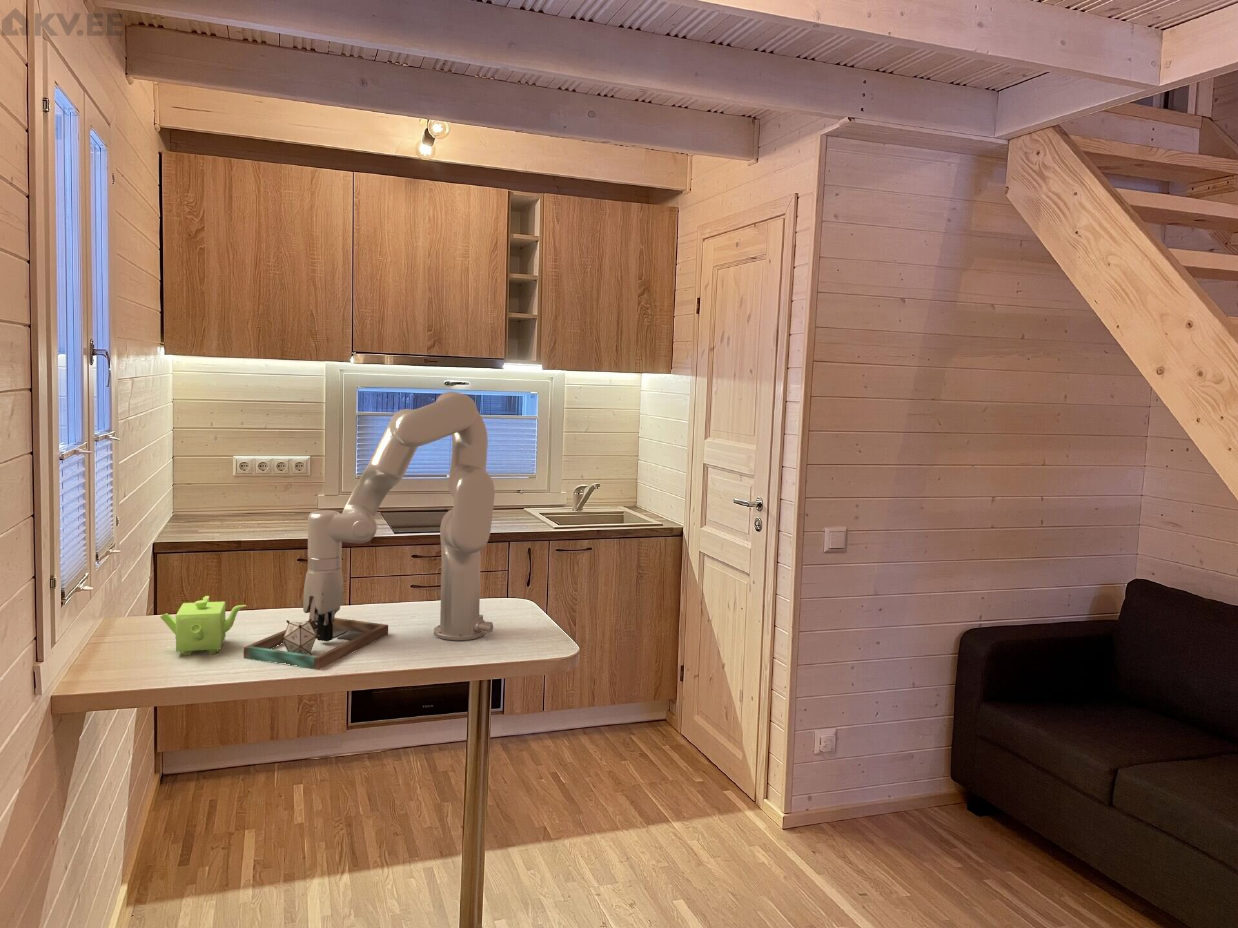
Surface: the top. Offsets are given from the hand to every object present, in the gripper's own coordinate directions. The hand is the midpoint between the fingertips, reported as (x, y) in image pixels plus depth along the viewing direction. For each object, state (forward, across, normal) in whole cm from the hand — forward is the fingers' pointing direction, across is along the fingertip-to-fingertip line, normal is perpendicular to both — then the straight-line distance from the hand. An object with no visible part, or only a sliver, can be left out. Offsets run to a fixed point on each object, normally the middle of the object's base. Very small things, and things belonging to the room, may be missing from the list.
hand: (324, 639), depth 214 cm
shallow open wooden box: (+1, +2, 0) cm, 2 cm away
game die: (+1, +9, 0) cm, 9 cm away
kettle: (+1, +14, -22) cm, 26 cm away
